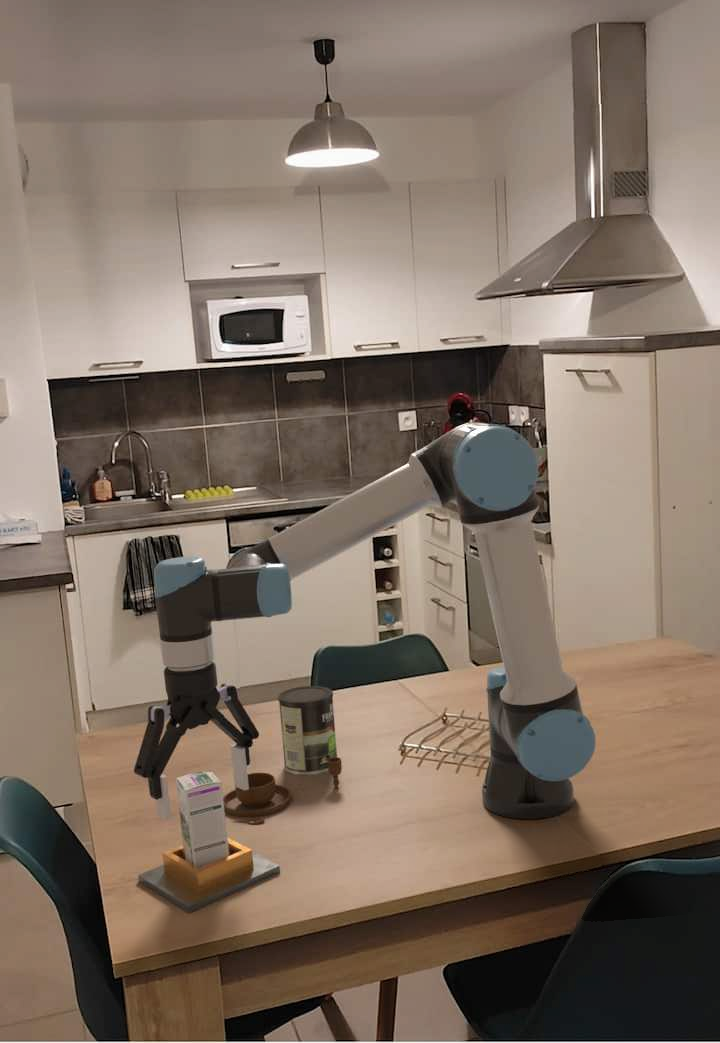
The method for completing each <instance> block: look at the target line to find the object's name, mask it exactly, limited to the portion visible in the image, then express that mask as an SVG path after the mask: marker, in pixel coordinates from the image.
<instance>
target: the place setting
mask: <svg viewBox="0 0 720 1043" xmlns="http://www.w3.org/2000/svg"><path fill="white" fill-rule="evenodd" d="M342 767H343V766H342V758H341V757H338V756H337V757H333V758H329V759H328V770H329V771H328V773H329V774H330V775H331V776H333V781H332V785H333V786H334V787H333V789H334V790H337V789H340V786H339V784H340V781H339V775H341V773H342V769H343V768H342ZM247 775H248V785H249V789H248V790H242V789H240V788H238V787H235V786H234V788H235V789H233V790H230V792H228V793H226V794H225V795H224V796H223V803H224V811H225V812H227V814H228V813H229V814H230V815H232V816H237V817H241V818H242V817H243V818H250V819H247V820H246V819H245V820H233V823H246V824H248V825H260V824H263V823H264V822H265V818H257V817H263V816H267V815H271V814H274V813H276V812H279V811H281V810H283V809H285V807H287V806H288V805H289V803H290V801H291V796H292V795H291V794H292V793H291V791H290V790H289V789H288V787H285V786H283V785H279V784H276V779H275V778H276V777H275V776H274V775H273V774H270V773H267V772H251V773H247ZM303 784H304V782H301V783H300V785H299V786H302V785H303ZM276 793H278V794H281V795H283V796H284V797H285V798H286V799H284V801H282V802H280V803H279V804H276V805H274V806H271V807H267V808H264V809H257V808H262V807H265V806H266V805H268V804H269V802H270V801H271V800H272V799H273V798H275V795H276ZM235 798H236V799H237V800H238V801H239V802H241V804H244V805H245V807H247V808H252V809H253V808H254V809H256V810H241V809H240V810H239V809H234V808H231V807H229V806H228V805H229V802H231V801H232V800H233V799H235ZM254 817H255V818H254ZM251 818H252V819H251Z"/></svg>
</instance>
